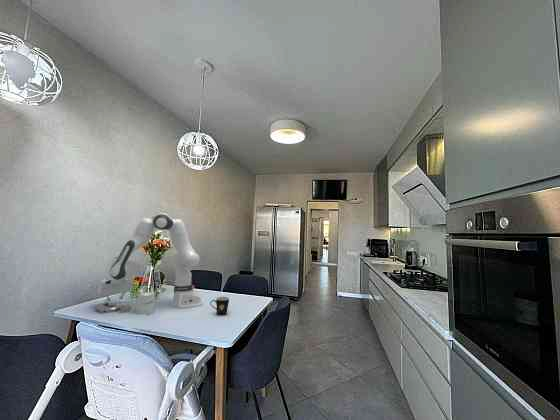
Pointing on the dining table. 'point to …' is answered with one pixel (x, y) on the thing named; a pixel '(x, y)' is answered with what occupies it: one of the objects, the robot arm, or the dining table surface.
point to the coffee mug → (221, 305)
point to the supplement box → (145, 303)
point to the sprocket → (109, 307)
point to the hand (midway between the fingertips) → (114, 300)
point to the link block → (125, 309)
